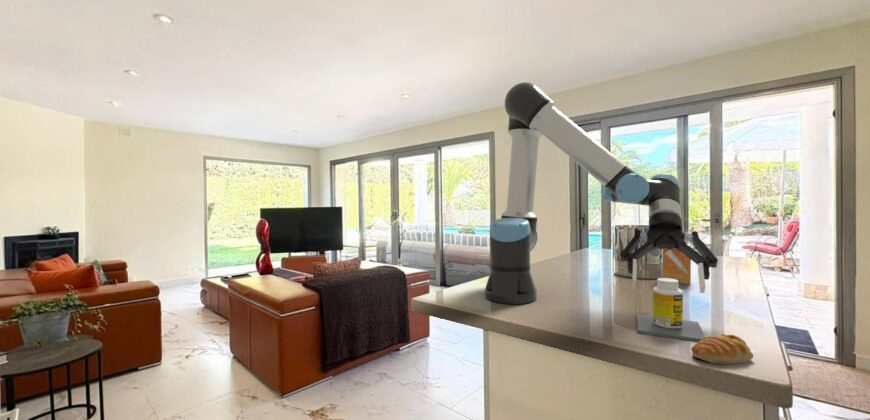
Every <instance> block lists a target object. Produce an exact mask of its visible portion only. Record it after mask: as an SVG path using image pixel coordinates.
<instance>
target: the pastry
mask: <svg viewBox="0 0 870 420" xmlns="http://www.w3.org/2000/svg"><path fill="white" fill-rule="evenodd" d="M691 352H692V356H693V357H695V358H697V359H700V360H703V361H705V362H709V363H711V364H724V365H733V364H741V363H743V364H744V363H748V362H751V360H752V359H754V353H753V352H752V351H751V348H750V347H749V346H748V344H747V342H746V341H745V340H744V339H743V338H741V337H739V336H737V335H735V334H724V333H722V334H721V335H708V336H705V338H704V339H702V340H701V341H699V342H698V341H697V342H696V343H695V344H694V345H693V347H691Z"/></svg>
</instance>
